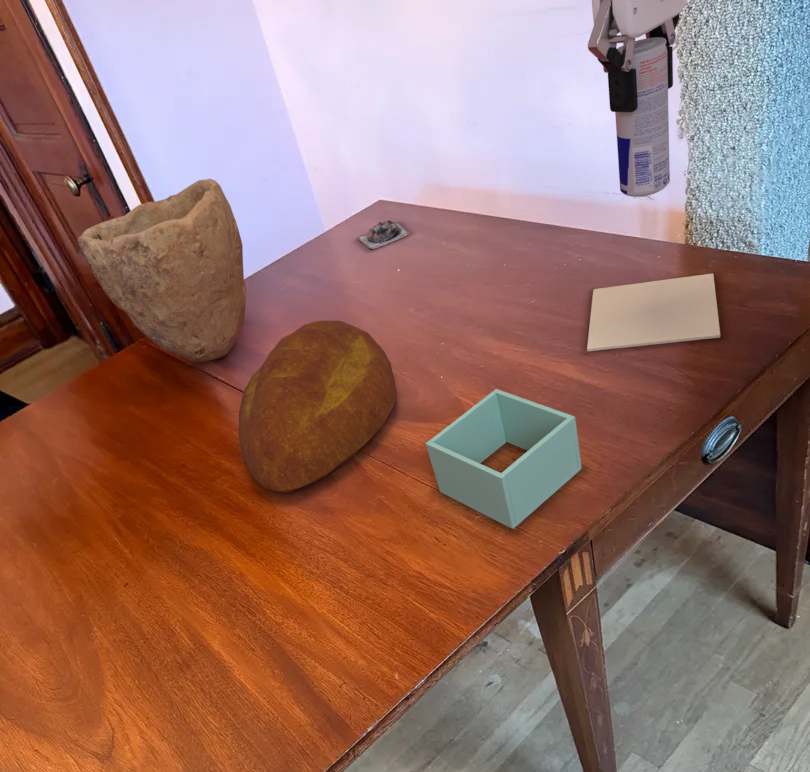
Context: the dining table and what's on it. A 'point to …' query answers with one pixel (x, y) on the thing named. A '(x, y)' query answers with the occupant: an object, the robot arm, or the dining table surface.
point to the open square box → (524, 479)
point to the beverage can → (645, 124)
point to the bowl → (175, 270)
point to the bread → (314, 404)
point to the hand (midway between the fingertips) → (641, 97)
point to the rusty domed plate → (383, 234)
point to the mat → (654, 313)
